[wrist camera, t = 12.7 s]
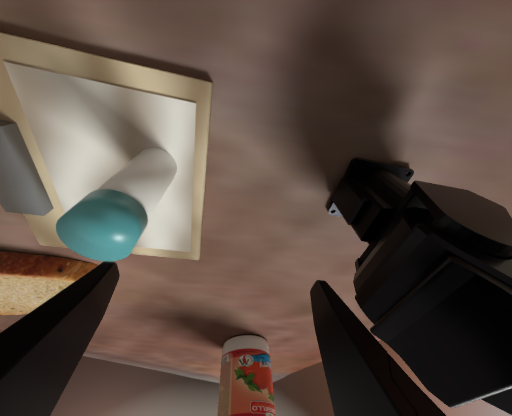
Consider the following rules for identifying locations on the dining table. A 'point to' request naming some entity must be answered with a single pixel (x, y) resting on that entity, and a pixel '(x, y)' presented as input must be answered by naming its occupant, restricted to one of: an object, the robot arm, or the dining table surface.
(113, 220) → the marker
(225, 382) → the fruit juice
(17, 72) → the clipboard
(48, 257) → the bread slice
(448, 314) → the robot arm
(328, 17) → the dining table surface
